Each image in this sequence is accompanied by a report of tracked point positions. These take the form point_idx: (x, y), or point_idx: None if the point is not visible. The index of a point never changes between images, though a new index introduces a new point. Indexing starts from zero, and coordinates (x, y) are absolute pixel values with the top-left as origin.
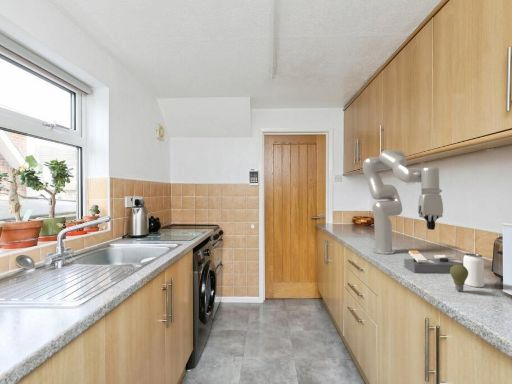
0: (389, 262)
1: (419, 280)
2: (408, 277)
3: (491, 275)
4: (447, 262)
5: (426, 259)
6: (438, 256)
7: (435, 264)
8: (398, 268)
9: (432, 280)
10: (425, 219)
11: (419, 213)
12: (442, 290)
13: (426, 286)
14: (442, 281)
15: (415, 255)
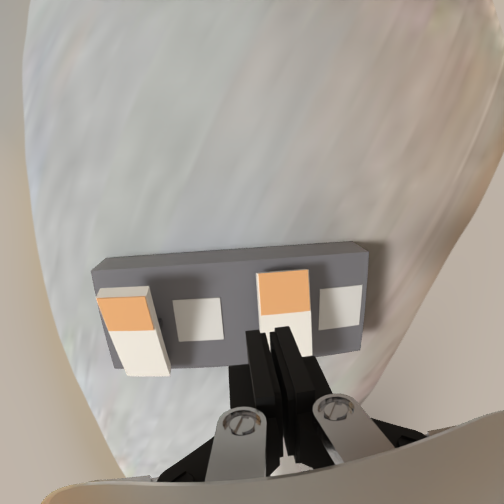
0: (65, 168)
1: (122, 416)
2: (94, 391)
3: (398, 345)
4: None
5: (167, 373)
6: (259, 318)
7: (208, 366)
8: (77, 281)
9: (162, 417)
10: (202, 451)
11: (77, 493)
12: (161, 470)
13: (130, 451)
14: (190, 424)
15: (122, 343)
